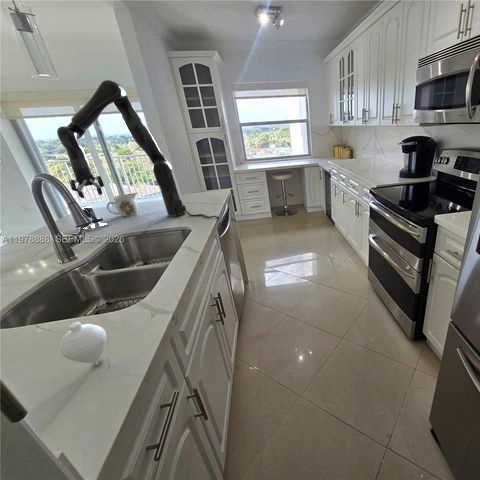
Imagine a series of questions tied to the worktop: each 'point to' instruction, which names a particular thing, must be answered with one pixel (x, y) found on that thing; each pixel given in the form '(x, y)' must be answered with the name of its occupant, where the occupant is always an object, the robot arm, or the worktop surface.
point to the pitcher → (125, 205)
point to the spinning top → (83, 343)
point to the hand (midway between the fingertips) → (91, 196)
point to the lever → (94, 217)
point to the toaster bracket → (93, 219)
